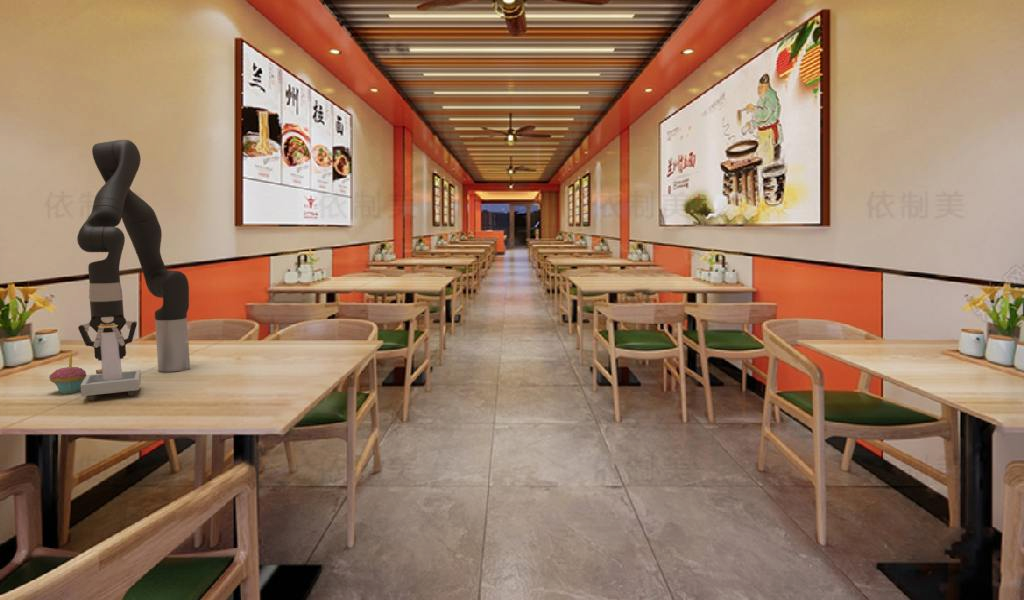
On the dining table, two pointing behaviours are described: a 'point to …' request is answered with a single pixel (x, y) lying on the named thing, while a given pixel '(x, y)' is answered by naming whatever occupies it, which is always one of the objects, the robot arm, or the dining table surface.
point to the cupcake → (68, 378)
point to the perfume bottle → (110, 352)
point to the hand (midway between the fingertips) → (110, 358)
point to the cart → (110, 384)
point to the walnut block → (99, 371)
